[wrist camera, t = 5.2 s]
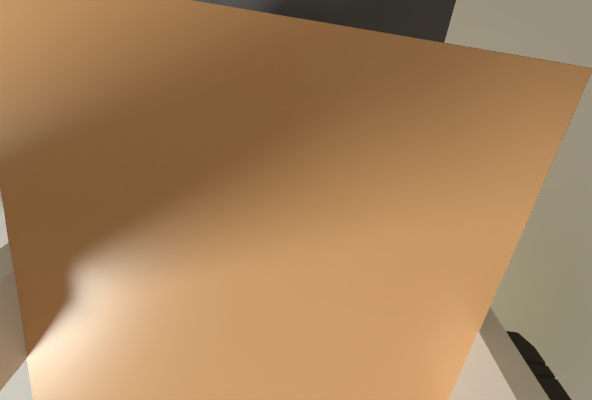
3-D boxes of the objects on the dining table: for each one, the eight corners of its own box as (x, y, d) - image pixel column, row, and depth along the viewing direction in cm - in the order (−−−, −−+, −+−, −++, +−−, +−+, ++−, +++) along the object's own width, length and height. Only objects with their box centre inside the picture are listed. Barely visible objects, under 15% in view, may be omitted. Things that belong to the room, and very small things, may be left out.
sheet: (12, -31, 8) (-35, -38, 7) (556, 61, 8) (593, 68, 7) (68, 465, 14) (48, 502, 13) (382, 499, 15) (389, 539, 13)
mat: (165, -92, 16) (123, -126, 12) (461, -39, 17) (506, -57, 13) (154, 341, 25) (128, 396, 21) (350, 367, 25) (358, 426, 22)
